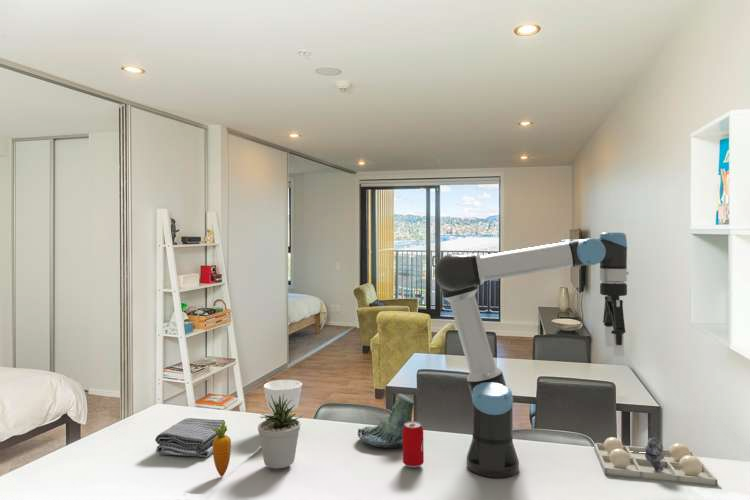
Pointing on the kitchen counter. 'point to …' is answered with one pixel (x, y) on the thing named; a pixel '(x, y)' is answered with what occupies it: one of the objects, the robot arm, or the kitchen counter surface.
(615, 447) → the egg far left
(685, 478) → the egg tray
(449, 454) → the kitchen counter surface
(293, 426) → the potted plant
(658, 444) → the seashell
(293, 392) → the cup
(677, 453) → the egg far right
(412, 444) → the beverage can
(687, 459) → the egg near right
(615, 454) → the egg near left
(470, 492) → the kitchen counter surface
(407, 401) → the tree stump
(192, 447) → the towel
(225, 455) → the carrot
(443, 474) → the kitchen counter surface
